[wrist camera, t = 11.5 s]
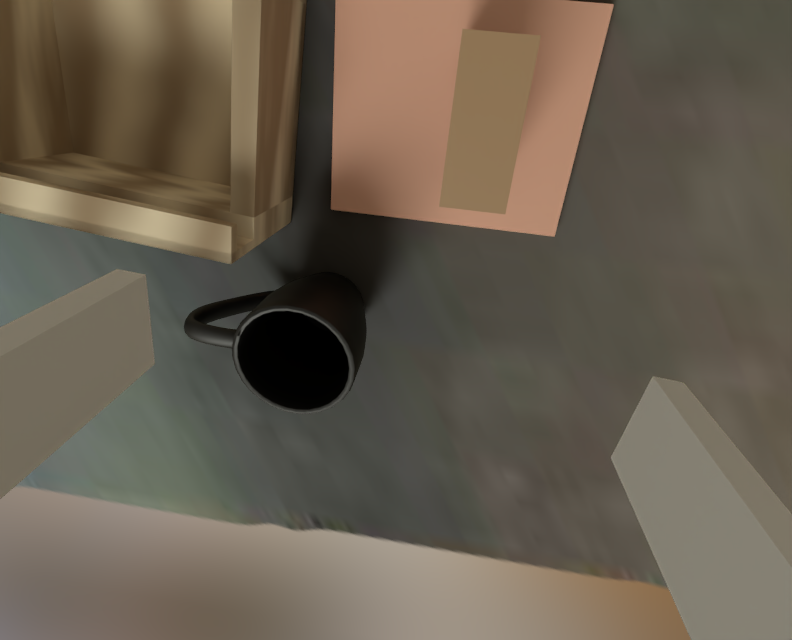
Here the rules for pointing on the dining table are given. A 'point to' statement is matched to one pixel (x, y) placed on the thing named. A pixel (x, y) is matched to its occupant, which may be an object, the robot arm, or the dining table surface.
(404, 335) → the dining table surface
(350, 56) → the cover plate
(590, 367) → the dining table surface
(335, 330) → the mug
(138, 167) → the birch box
